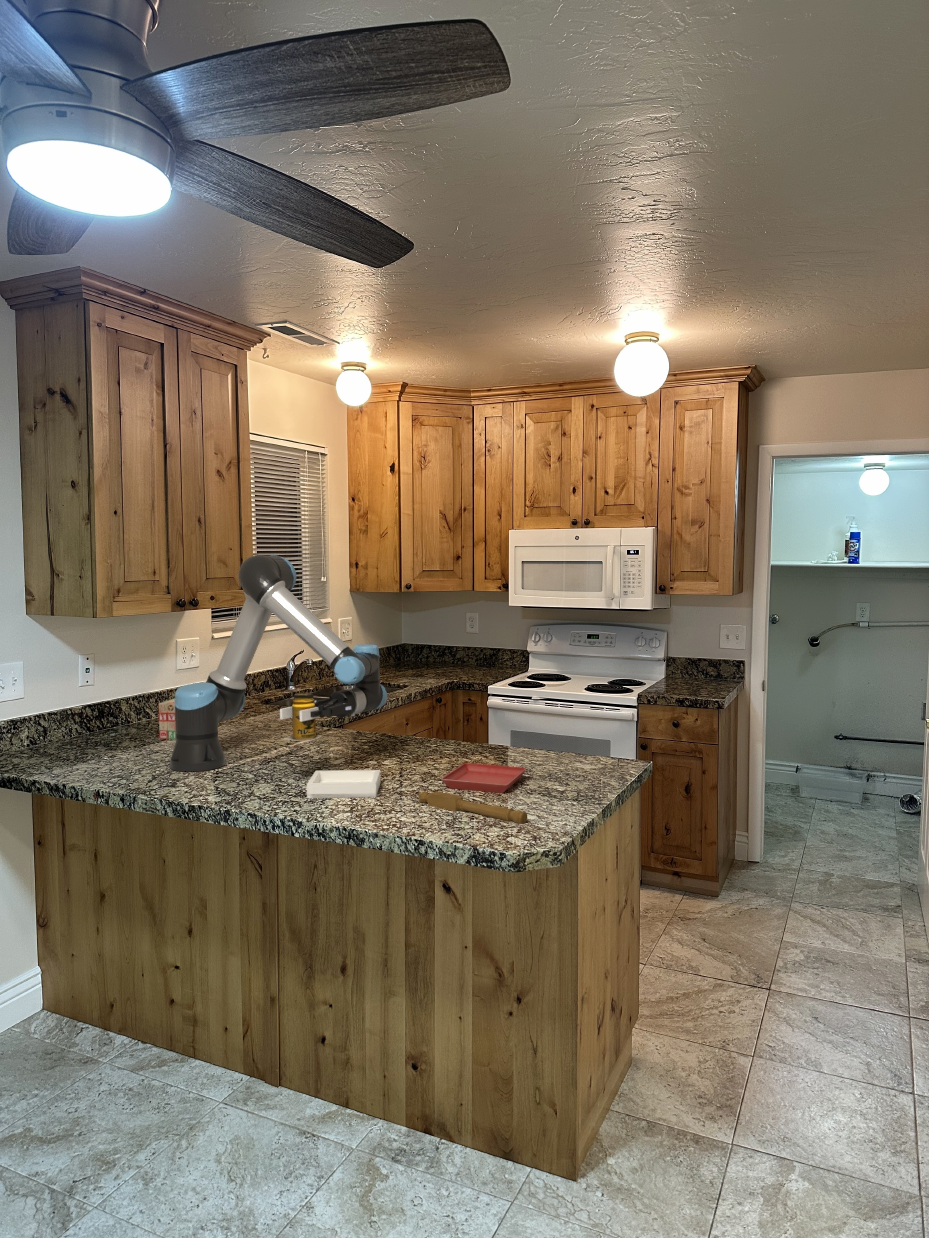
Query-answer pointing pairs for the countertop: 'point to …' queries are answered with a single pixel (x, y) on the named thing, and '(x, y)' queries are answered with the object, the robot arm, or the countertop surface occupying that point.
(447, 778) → the plant saucer
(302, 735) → the condiment
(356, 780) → the tray
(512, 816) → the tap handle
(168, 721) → the stack of blocks
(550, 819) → the countertop surface
